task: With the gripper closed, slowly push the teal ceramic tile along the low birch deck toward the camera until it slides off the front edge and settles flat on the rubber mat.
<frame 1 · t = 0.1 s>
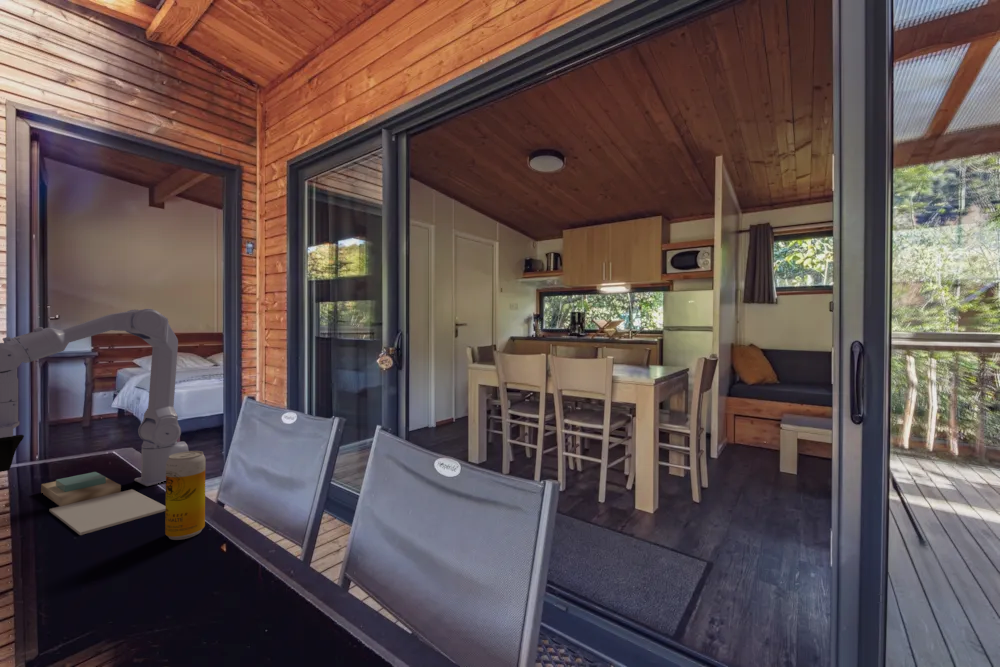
beer can: (185, 534, 82), on the table
tile: (81, 484, 102), point 2 cm above the table, touching deck
deck: (80, 493, 102), on the table
mat: (109, 510, 92), on the table
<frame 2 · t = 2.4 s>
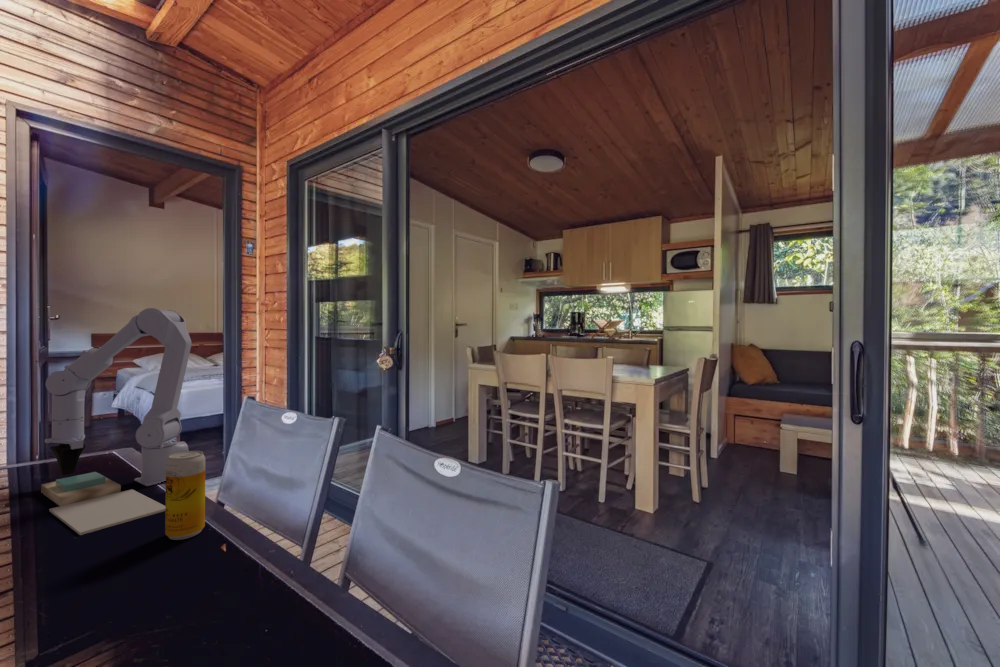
hand: (67, 473, 107), 3 cm above the table, tool pointing down, fingers closed
nothing on the table moved.
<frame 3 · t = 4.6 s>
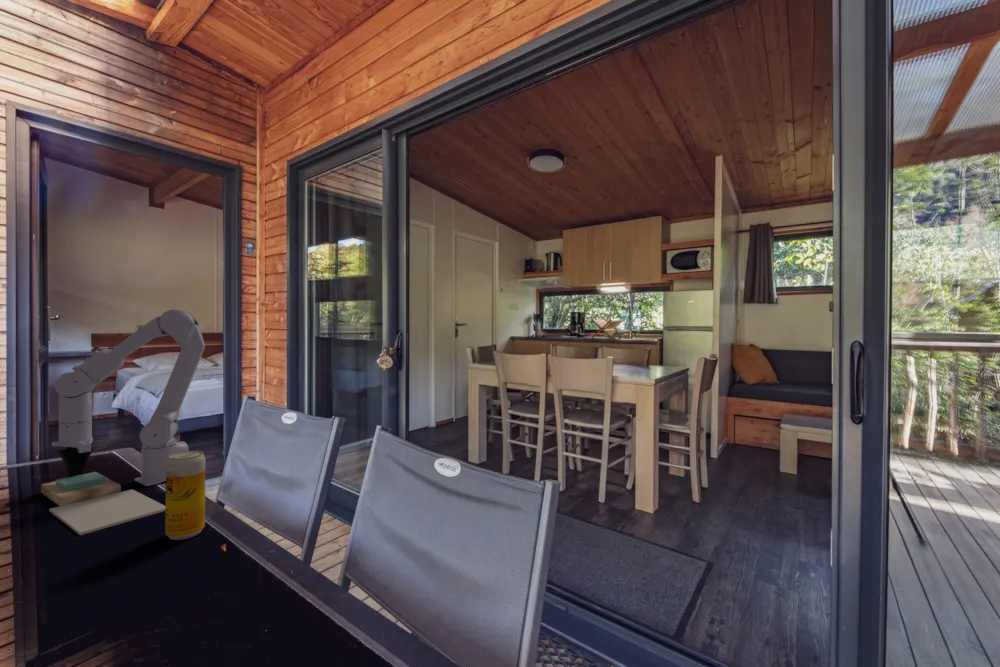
hand: (75, 477, 104), 3 cm above the table, tool pointing down, fingers closed
tile: (81, 484, 102), point 2 cm above the table, touching gripper
everything else where it was.
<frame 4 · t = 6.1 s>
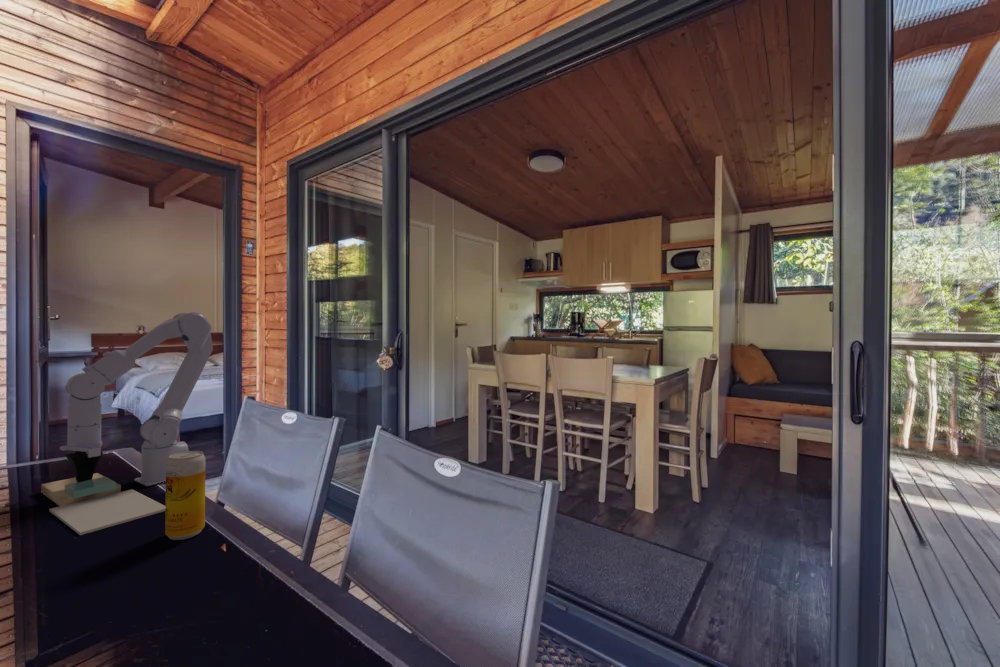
hand: (84, 483, 101), 3 cm above the table, tool pointing down, fingers closed
tile: (90, 490, 99), point 2 cm above the table, touching deck
everything else where it was.
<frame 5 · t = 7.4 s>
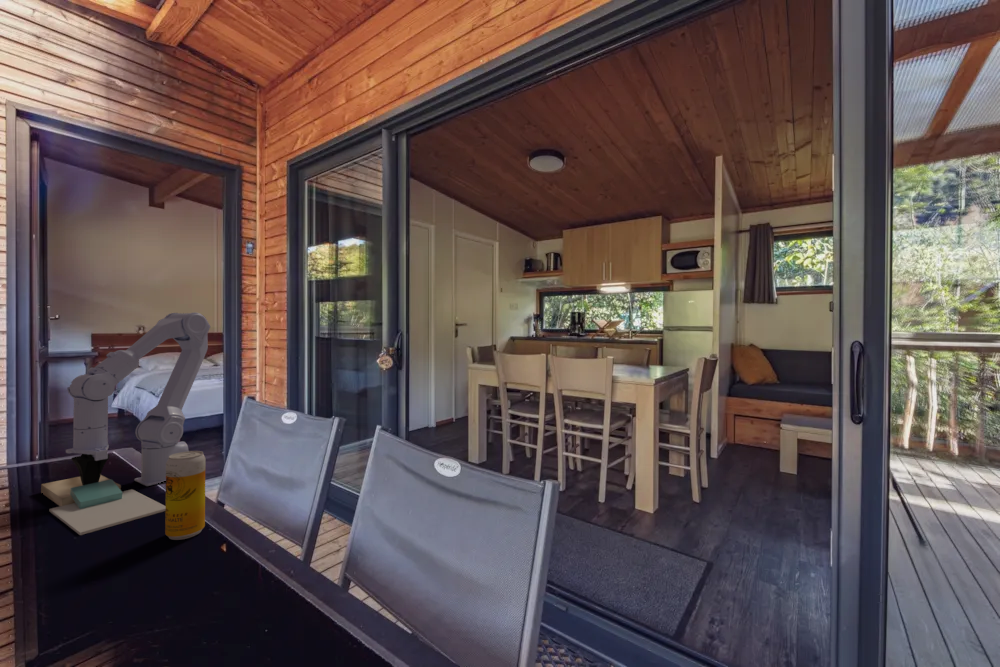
hand: (90, 486, 99), 3 cm above the table, tool pointing down, fingers closed
tile: (96, 496, 96), point 1 cm above the table, tilted 14°, touching deck, gripper
everything else where it was.
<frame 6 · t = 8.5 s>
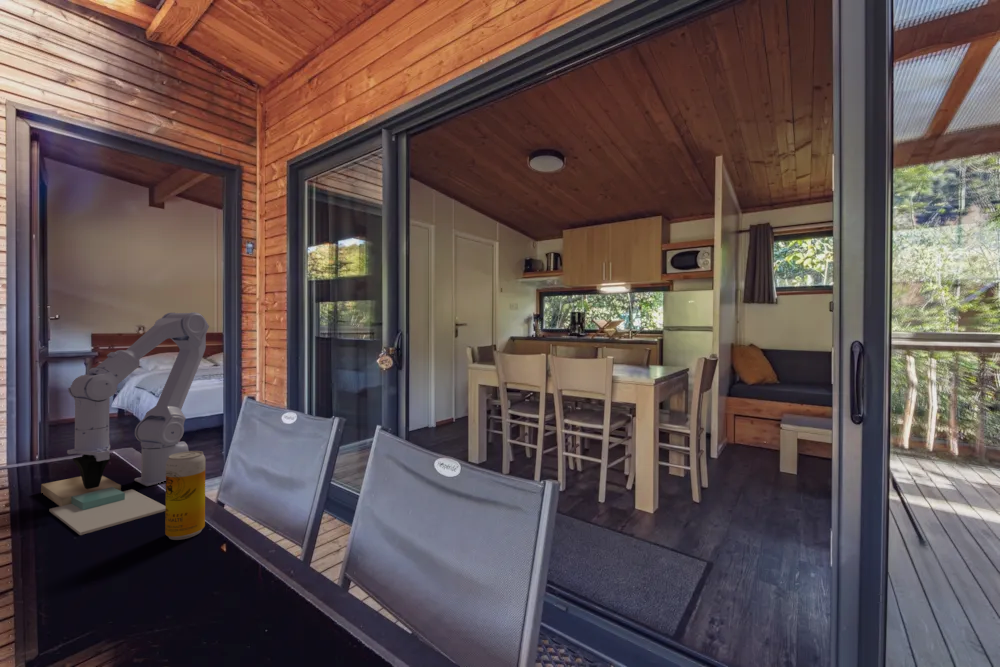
hand: (91, 487, 98), 3 cm above the table, tool pointing down, fingers closed
tile: (98, 501, 96), resting on mat
everything else where it was.
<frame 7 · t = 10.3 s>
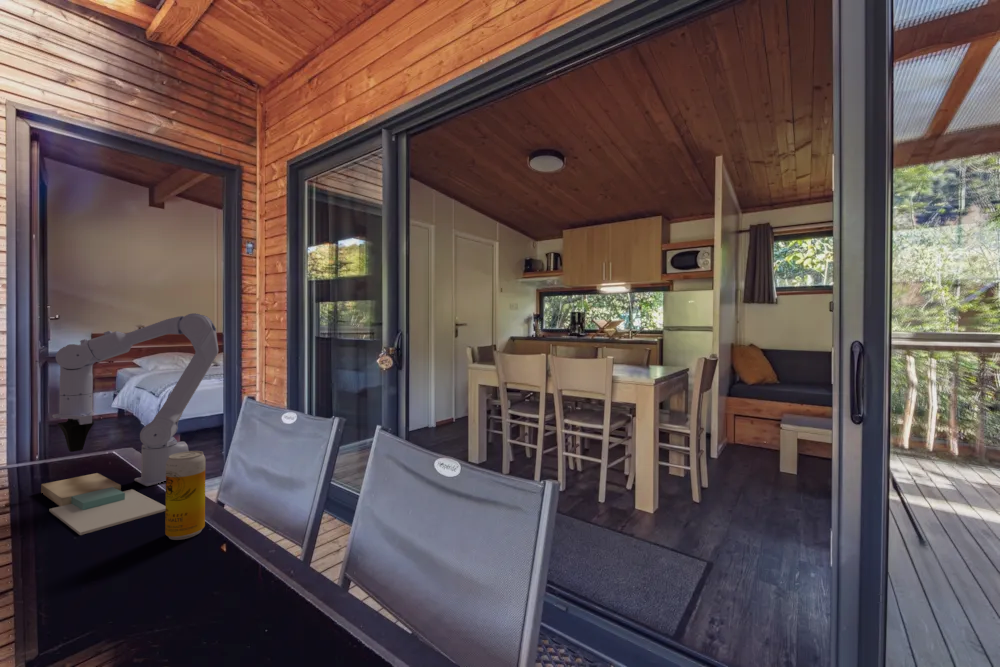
hand: (75, 450, 104), 9 cm above the table, tool pointing down, fingers closed
nothing on the table moved.
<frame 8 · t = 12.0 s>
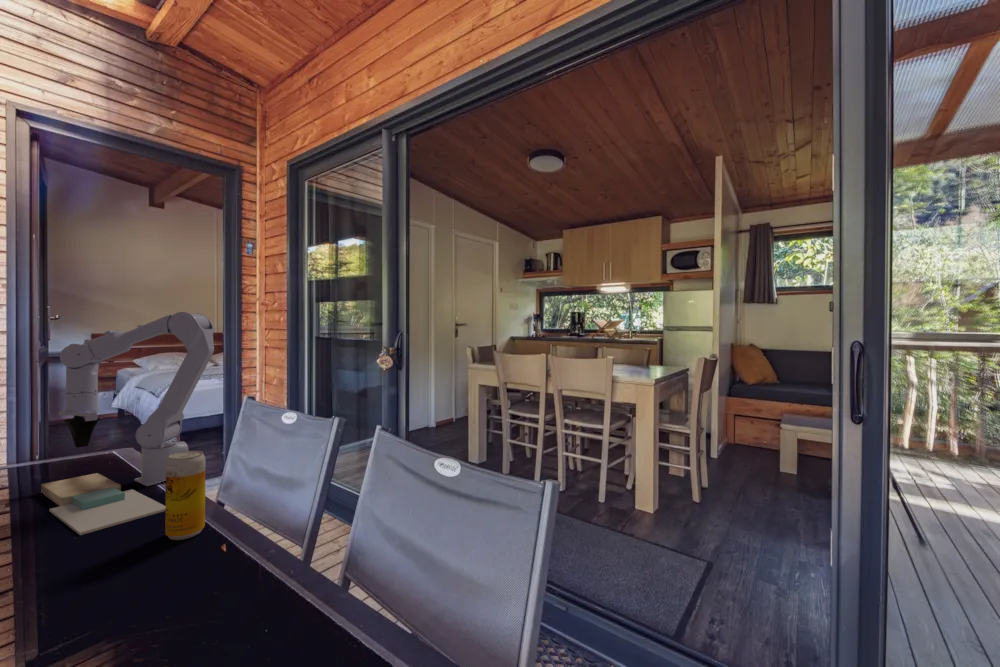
hand: (81, 446, 108), 9 cm above the table, tool pointing down, fingers closed
nothing on the table moved.
at the end: tile inside the target area (7.7 cm from its centre), point 0.5 cm above the table; tile tilted 0°; tile touching mat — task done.
